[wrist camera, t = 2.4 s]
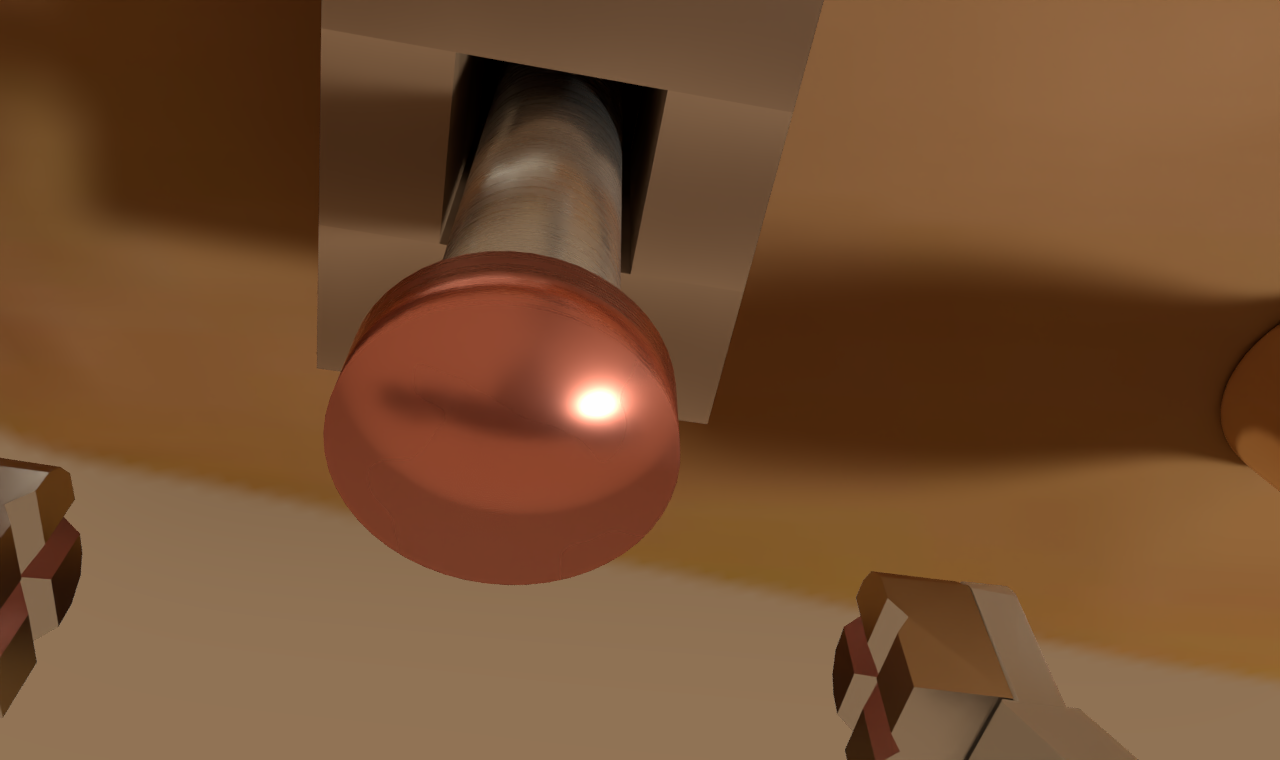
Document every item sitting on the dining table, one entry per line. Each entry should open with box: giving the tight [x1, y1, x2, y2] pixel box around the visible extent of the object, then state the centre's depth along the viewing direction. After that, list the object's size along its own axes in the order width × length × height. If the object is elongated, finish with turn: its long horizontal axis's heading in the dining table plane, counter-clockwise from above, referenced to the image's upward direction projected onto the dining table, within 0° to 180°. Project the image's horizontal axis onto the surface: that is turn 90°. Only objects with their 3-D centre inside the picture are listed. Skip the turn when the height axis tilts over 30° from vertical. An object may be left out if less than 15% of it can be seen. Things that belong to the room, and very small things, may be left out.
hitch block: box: [317, 0, 824, 424], centre depth 21 cm, size 10×8×6 cm
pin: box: [323, 61, 680, 585], centre depth 18 cm, size 4×4×14 cm
